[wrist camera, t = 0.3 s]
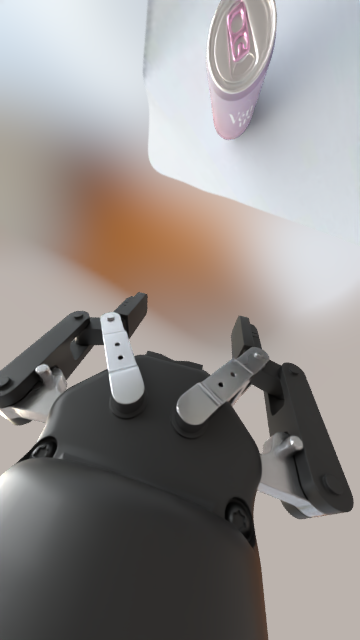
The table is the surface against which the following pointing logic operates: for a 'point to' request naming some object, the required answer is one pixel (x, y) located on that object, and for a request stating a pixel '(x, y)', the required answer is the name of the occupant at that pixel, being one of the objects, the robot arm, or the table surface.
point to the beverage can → (239, 61)
